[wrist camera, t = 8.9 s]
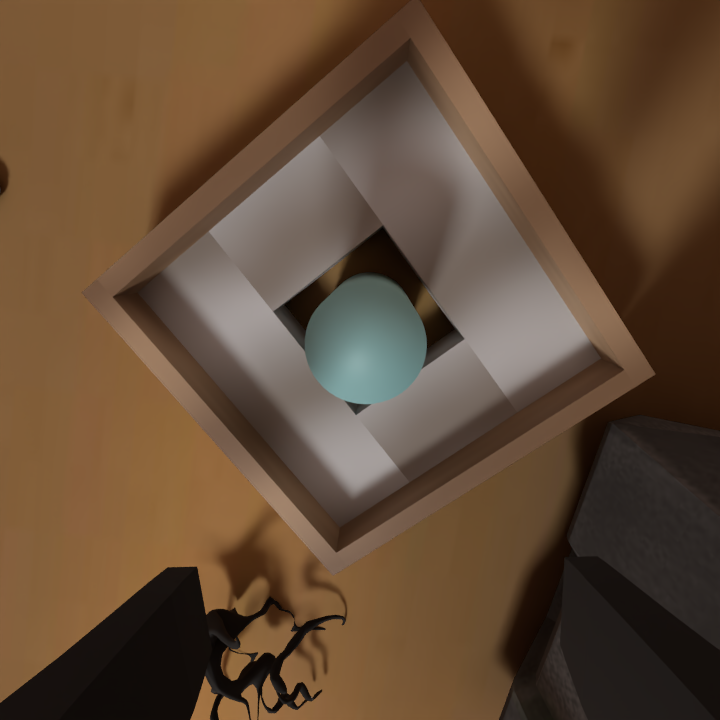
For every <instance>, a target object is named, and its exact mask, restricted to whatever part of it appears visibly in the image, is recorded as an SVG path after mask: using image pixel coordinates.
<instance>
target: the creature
mask: <svg viewBox="0 0 720 720" xmlns="http://www.w3.org/2000/svg"><path fill="white" fill-rule="evenodd" d="M272 604H274V605H275V606H276V607H277V608H278V609H279V610H282V611H285V612H289V613H291V612H290V611H288V610H285V609H282V607H281V606H280V605H279V603H278V602H277V601H275V600H274V599H273V598H271V597H269V598H268V599H267V601H266V602H265V604H264V606H263V607H262V609H261V610H260V611H258V612H257V613H255V614H254V615H251V616H242V615H239V614H237V612H236V609H235V608H233V609H232V610H230V611H229V610H225V609H216V610H212V611H210V612H209V613H208V614H207V615H206V619H207V624H208V630H209V635H210V641H211V646H212V652H211V655H210V659H209V662H208V666H207V669H206V673H205V676H206V678H207V680H208V682H209V684H210V686H211V687H212V689H211V692H212V693H214V694H218V695H217V697H216V699H215V702H214V705H213V708H212V711H211V715H210V720H219V718H218V713H217V710H218V706H219V704H220V701H221V699H222V698H223V697H224V696H225V697H227V698H229V699H232V700H235V701H238V702H242V703H244V704H245V705H246V707H247V710H248V714H249V719H250V720H251V718H250V710H249V704H248V701H247V700H246V699H245V698H243V697H241V693H242V692H243V691H244V690H245V689H246V688H247V687H248V686H250V685H252V684H253V685H254V686H255V687H256V688H257V693H258V715H259V700H260V695H261V699H262V703H263V705H264V707H265V709H266V710H267V711H268V713H276V712H277V711H278V710H279V709H280V708H281V707H282V706H283V704H287V705H288V706H289V707H291V708H292V709H295V710H298V709H299V708H300V707H301V706H302V705H303V704H304V703H305V702H307V701H313V700H314V699H315V698H316V697H317V696H318V695H319V694H320V693H321V692H322V690H320V691H318V692H317V693H316V694H315V695H314V697H313V698H312V697H311V696H310V694H309V692H308V690H307V687H306V686H305V684H304V683H303V682H301V683H297V685H296V686H295V688H294V691H293V692H292V693H291V695H289V694H288V693H287V688H286V685H285V683H284V681H283V680H282V678H281V677H280V675H279V674H280V670H281V667H282V664H283V661H284V659H286V658H287V657H288V656H289V655H290V654H291V653H292V651H293V650H294V649H295V648H296V647H297V646H298V645H299V643H300V642H301V641H302V639H303V638H304V636H305V635H306V633H308V632H309V631H311V630H326V629H325V628H315V627H316V626H318V625H319V624H321V623H323V622H325V621H328V620H331V619H342V620H343V622H344V623H345V622H346V620H345V618H344V617H343V616H340V615H330V616H325V617H321V618H318V619H314V620H310V621H307V622H306V623H305V624H304V625H303V626H302V627H301V628H299V627H297V626H296V625H295V619H294V626H293V628H292V630H291V631H292V632H293V631H297V633H296V634H295V635H294V636H293V638H292V639H291V640H290V641H289V643H288V644H287V646H286V648H285V650H284V651H283V652H282V653H280V655H279V656H278V657H277V658H275V656H274V655H272V654H271V653H264V654H263V655H262V656H261V657H260V658H259V659H258V660H257V661H254V659H255V657H256V656H257V654H258V652H257V653H254V654H247V655H249V656H250V657H251V662H250V663H249V664H248V665H247V666H246V667H245V668H244V669H243V670H242V671H241V673H240V676H239V678H238V679H237V680H234V681H231V680H230V679H228V678H227V677H226V676H224V675H223V672H222V669H221V666H220V665H221V658H222V654H223V652H224V651H225V650H226V648H227V647H229V650H230V651H233V650H231V649H230V648H232V649H238V648H240V641H239V639H238V637H237V636H238V634H239V633H240V632H241V631H243V629H244V628H245V627H246V626H247V625H248V624H250V623H251V622H252V621H253V620H254V619H256V618H258V617H260V616H262V615H264V614H266V612H267V611H268V609H269V607H270V605H272ZM291 615H292V616H293V614H292V613H291ZM293 618H294V616H293ZM344 623H343V624H342V625H344ZM235 638H236V640H237V641H235V640H234V639H235ZM233 652H235V653H238V652H236V651H233ZM239 654H244V653H239ZM269 673H270V680H271V682H272V685H273V687H274V689H275V690H276V692H277V695H278V697H279V698H278V702H277V703H276V705H275V706H274V707H273V708H272V709H271V708H269V707H267V706H266V705H265V703H264V700H263V698H262V686H263V684H264V682H265V679H266V678H267V676H268V674H269ZM299 691H300V692H301V694H302V696H303V697H304V698H305V699H306V700H304V702H303V703H302V704H301V705H300V706H298V707H297V705H296V704H295V702H294V700H295V699H296V698H297V696H298V694H299ZM280 693H281V695H280ZM257 720H258V719H257Z"/></svg>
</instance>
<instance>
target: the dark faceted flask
mask: <svg viewBox="0 0 720 720" xmlns="http://www.w3.org/2000/svg"><path fill="white" fill-rule="evenodd" d="M567 539H568V542H569V543H570V545H571V546H572V549H571V552H570V555H569V557H585V556H598V557H599V558H601V559H602V560H603V561H605V562H606V563H608V564H609V565H610V566H611V567H613V568H614V569H615V570H617V571H618V572H619V573H621V574H622V575H623V576H624V577H626V578H627V579H628V580H629V581H631V582H632V583H633V584H635V585H636V586H637V587H638V588H640V589H641V590H642V591H643V592H645V593H646V594H647V595H649V596H650V597H651V598H652V599H654V600H655V601H656V602H657V603H659V604H660V605H661V606H663V607H664V608H665V609H666V610H668V611H669V612H670V613H672V614H673V615H674V616H675V617H677V618H678V619H679V620H681V621H682V622H683V623H685V624H686V625H687V626H688V627H690V628H691V629H692V630H694V631H695V632H696V633H698V634H699V635H700V636H702V637H703V638H704V639H706V640H707V641H708V642H710V643H711V644H712V645H714V646H715V647H716V648H718V649H719V650H720V431H718V430H713V429H708V428H703V427H698V426H693V425H688V424H683V423H678V422H673V421H668V420H663V419H658V418H653V417H648V416H643V415H637V416H633V417H628V418H624V419H619V420H615V421H611V422H608V424H607V427H606V429H605V432H604V435H603V437H602V440H601V443H600V446H599V448H598V451H597V454H596V457H595V459H594V462H593V465H592V467H591V470H590V473H589V476H588V478H587V481H586V484H585V487H584V489H583V492H582V495H581V497H580V500H579V503H578V506H577V508H576V511H575V514H574V517H573V519H572V522H571V525H570V527H569V530H568V533H567ZM563 578H564V571H563V573H562V576H561V579H560V582H559V584H558V587H557V590H556V592H555V595H554V598H553V600H552V603H551V606H550V608H549V611H548V614H547V616H546V618H545V620H544V622H543V624H542V626H541V628H540V630H539V632H538V634H537V636H536V638H535V640H534V641H533V643H532V645H531V647H530V649H529V651H528V653H527V655H526V657H525V659H524V661H523V663H522V665H521V666H520V668H519V670H518V672H517V674H516V676H515V678H514V680H513V683H512V686H511V688H510V691H509V694H508V697H507V699H506V702H505V705H504V707H503V710H502V713H501V716H500V718H499V720H588V719H587V717H586V714H585V712H584V710H583V708H582V705H581V703H580V700H579V697H578V695H577V692H576V689H575V686H574V684H573V681H572V678H571V675H570V672H569V670H568V667H567V664H566V661H565V658H564V655H563V652H562V649H561V646H560V633H561V615H562V597H563Z"/></svg>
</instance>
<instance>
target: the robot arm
mask: <svg viewBox="0 0 720 720" xmlns="http://www.w3.org/2000/svg"><path fill="white" fill-rule="evenodd" d="M0 191H1V189H0ZM560 646H561V649H562V652H563V655H564V658H565V661H566V664H567V667H568V670H569V672H570V675H571V678H572V681H573V684H574V686H575V689H576V692H577V695H578V697H579V700H580V703H581V705H582V708H583V710H584V712H585V714H586V717H587V719H588V720H720V650H719V649H718V648H716V647H715V646H714V645H712V644H711V643H710V642H708V641H707V640H706V639H704V638H703V637H702V636H700V635H699V634H698V633H696V632H695V631H694V630H692V629H691V628H690V627H688V626H687V625H686V624H685V623H683V622H682V621H681V620H679V619H678V618H677V617H675V616H674V615H673V614H672V613H670V612H669V611H668V610H666V609H665V608H664V607H663V606H661V605H660V604H659V603H657V602H656V601H655V600H654V599H652V598H651V597H650V596H649V595H647V594H646V593H645V592H643V591H642V590H641V589H640V588H638V587H637V586H636V585H635V584H633V583H632V582H631V581H629V580H628V579H627V578H626V577H624V576H623V575H622V574H621V573H619V572H618V571H617V570H615V569H614V568H613V567H611V566H610V565H609V564H608V563H606V562H605V561H603V560H602V559H601V558H599V557H598V556H585V557H565V560H564V578H563V597H562V615H561V633H560ZM211 652H212V646H211V641H210V635H209V630H208V624H207V619H206V613H205V607H204V602H203V596H202V591H201V585H200V580H199V574H198V569H197V567H168V568H166V569H165V570H164V571H163V572H161V573H160V574H159V575H157V576H156V577H155V578H154V579H152V580H151V581H150V582H149V583H148V584H146V585H145V586H144V587H143V588H141V589H140V590H139V591H138V592H137V593H135V594H134V595H133V596H132V597H131V598H130V599H128V600H127V601H126V602H125V603H124V604H122V605H121V606H120V607H119V608H118V609H116V610H115V611H114V612H113V613H112V614H111V615H109V616H108V617H107V618H106V619H105V620H103V621H102V622H101V623H100V624H99V625H97V626H96V627H95V628H94V629H92V630H91V631H90V632H89V633H88V634H86V635H85V636H84V637H83V638H82V639H80V640H79V641H78V642H77V643H76V644H74V645H73V646H72V647H71V648H70V649H68V650H67V651H66V652H65V653H64V654H62V655H61V656H60V657H59V658H57V659H56V660H55V661H53V662H52V663H51V664H50V665H48V666H47V667H46V668H44V669H43V670H42V671H41V672H39V673H38V674H37V675H36V676H34V677H33V678H32V679H30V680H29V681H28V682H27V683H25V684H24V685H23V686H21V687H20V688H19V689H18V690H16V691H15V692H14V693H12V694H11V695H10V696H9V697H7V698H6V699H5V700H3V701H2V702H1V703H0V720H190V719H191V716H192V714H193V711H194V709H195V706H196V702H197V699H198V696H199V693H200V690H201V686H202V683H203V680H204V676H205V673H206V669H207V666H208V662H209V659H210V655H211Z"/></svg>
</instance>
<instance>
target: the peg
mask: <svg viewBox="0 0 720 720" xmlns="http://www.w3.org/2000/svg"><path fill="white" fill-rule="evenodd" d="M426 350H427V339H426V333H425V329H424V326H423V323H422V321H421V319H420V316H419V315H418V313H417V311H416V310H415V308H414V306H413V305H412V303H411V302H410V300H409V298H408V297H407V295H406V293H405V292H404V290H403V289H402V288H401V286H400V285H399V284H398V283H397V282H396V281H394V280H393V279H391V278H390V277H388V276H386V275H383V274H380V273H375V272H365V273H360V274H356V275H354V276H352V277H350V278H348V279H347V280H345V281H344V282H343V283H342V284H341V285H340V286H339V287H337V288H336V289H335V290H334V291H333V292H332V293H331V294H330V295H329V296H328V297H327V298H326V299H325V300H324V301H323V302H322V303H321V304H320V305H319V306H318V307H317V309H316V310H315V312H314V313H313V315H312V316H311V319H310V321H309V323H308V326H307V329H306V334H305V355H306V359H307V362H308V365H309V368H310V370H311V372H312V373H313V375H314V377H315V378H316V380H317V381H318V382H319V383H320V384H321V385H322V386H323V388H325V389H326V390H327V391H328V392H330V393H331V394H333V395H334V396H336V397H338V398H340V399H342V400H345V401H348V402H352V403H357V404H375V403H380V402H384V401H387V400H390V399H392V398H394V397H396V396H398V395H399V394H401V393H402V392H403V391H405V390H406V389H407V388H408V387H409V386H410V385H411V384H412V383H413V382H414V381H415V379H416V378H417V376H418V375H419V373H420V371H421V369H422V367H423V364H424V361H425V357H426Z"/></svg>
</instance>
